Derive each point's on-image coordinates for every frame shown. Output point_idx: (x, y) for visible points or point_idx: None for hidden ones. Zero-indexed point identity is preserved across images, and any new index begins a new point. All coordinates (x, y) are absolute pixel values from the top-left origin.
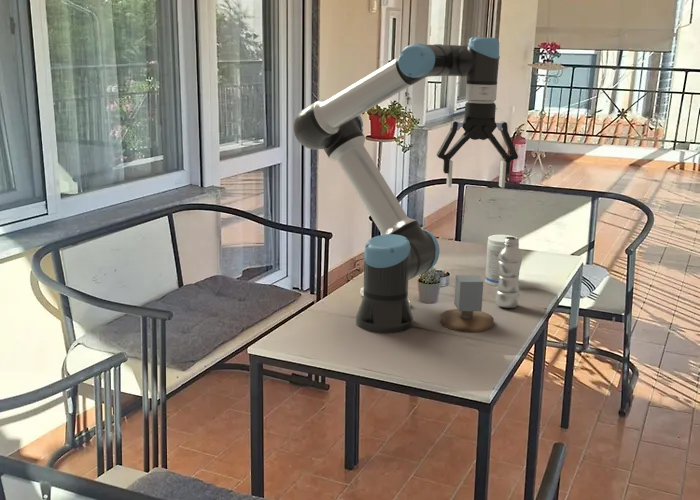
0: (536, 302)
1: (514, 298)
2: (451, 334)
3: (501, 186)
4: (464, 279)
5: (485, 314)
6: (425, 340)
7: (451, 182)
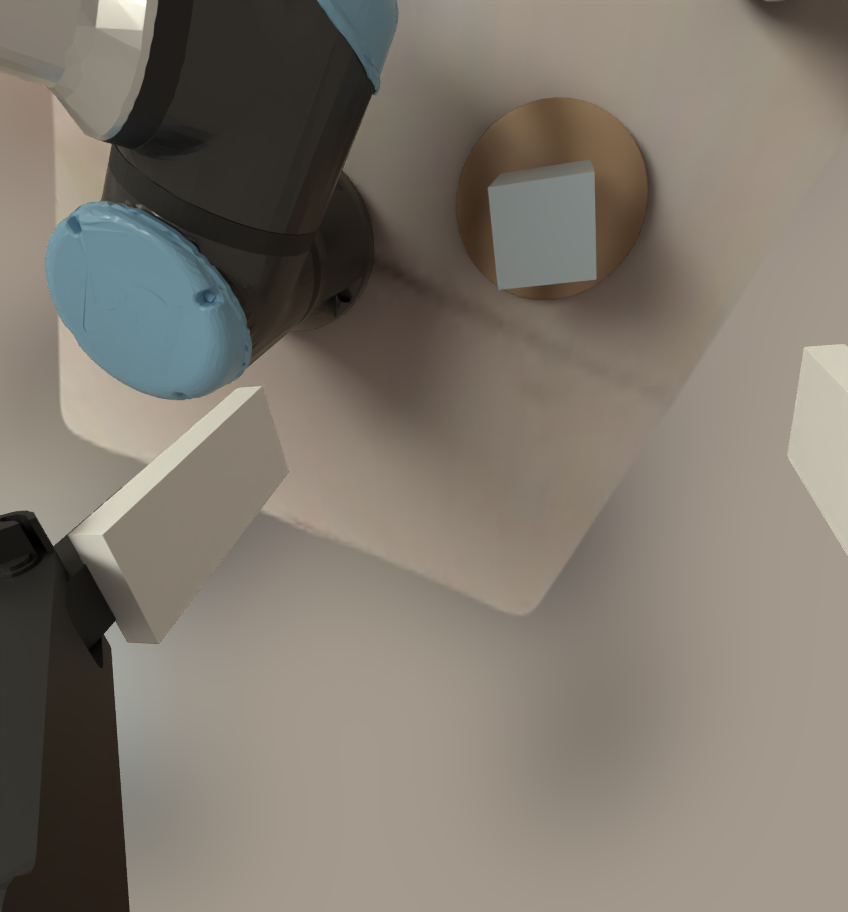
0: None
1: None
2: (486, 318)
3: (790, 459)
4: (518, 252)
5: (626, 161)
6: (412, 369)
7: (270, 494)
